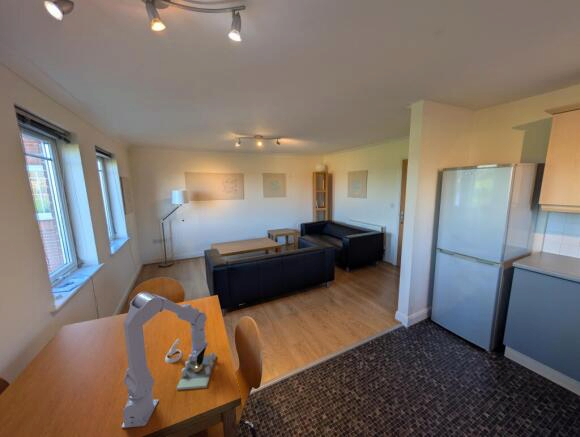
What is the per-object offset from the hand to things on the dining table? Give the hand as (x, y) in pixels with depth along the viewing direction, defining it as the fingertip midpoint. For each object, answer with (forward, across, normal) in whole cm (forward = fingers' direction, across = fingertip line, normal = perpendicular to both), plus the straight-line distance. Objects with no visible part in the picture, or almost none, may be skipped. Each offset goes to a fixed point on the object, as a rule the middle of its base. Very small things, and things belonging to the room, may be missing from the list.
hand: (200, 362), depth 102 cm
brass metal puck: (+1, -3, 0) cm, 3 cm away
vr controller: (+2, +7, +15) cm, 17 cm away
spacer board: (+2, -3, 0) cm, 4 cm away
